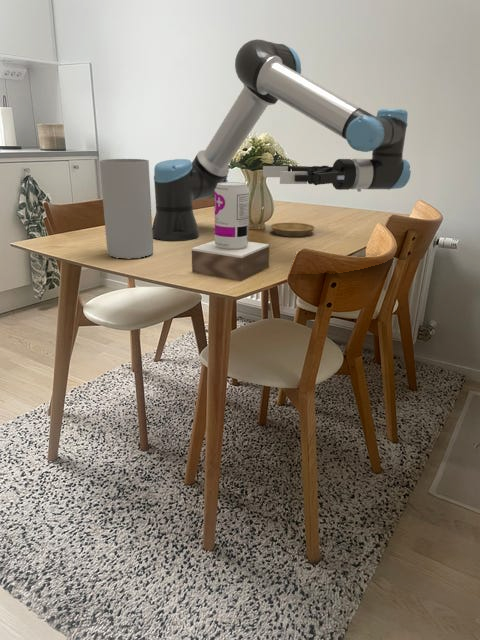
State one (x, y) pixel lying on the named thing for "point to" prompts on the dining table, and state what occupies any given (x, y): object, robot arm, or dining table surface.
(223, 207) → the supplement can
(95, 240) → the dining table surface
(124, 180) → the cylinder vase
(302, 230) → the plant saucer
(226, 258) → the block
